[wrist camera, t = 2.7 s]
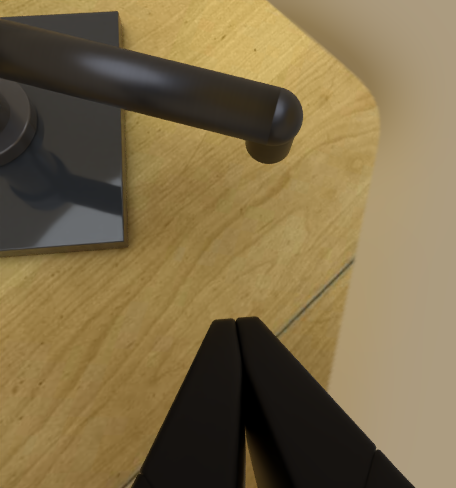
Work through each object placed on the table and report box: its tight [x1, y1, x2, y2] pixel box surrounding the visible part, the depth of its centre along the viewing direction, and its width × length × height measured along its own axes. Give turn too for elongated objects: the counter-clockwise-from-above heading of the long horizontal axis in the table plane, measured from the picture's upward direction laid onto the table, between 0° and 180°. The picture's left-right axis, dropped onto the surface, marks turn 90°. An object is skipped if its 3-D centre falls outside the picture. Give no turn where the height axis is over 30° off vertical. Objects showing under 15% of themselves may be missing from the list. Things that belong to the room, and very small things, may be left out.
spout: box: [0, 18, 303, 164], centre depth 16 cm, size 18×4×3 cm, turn 75°
